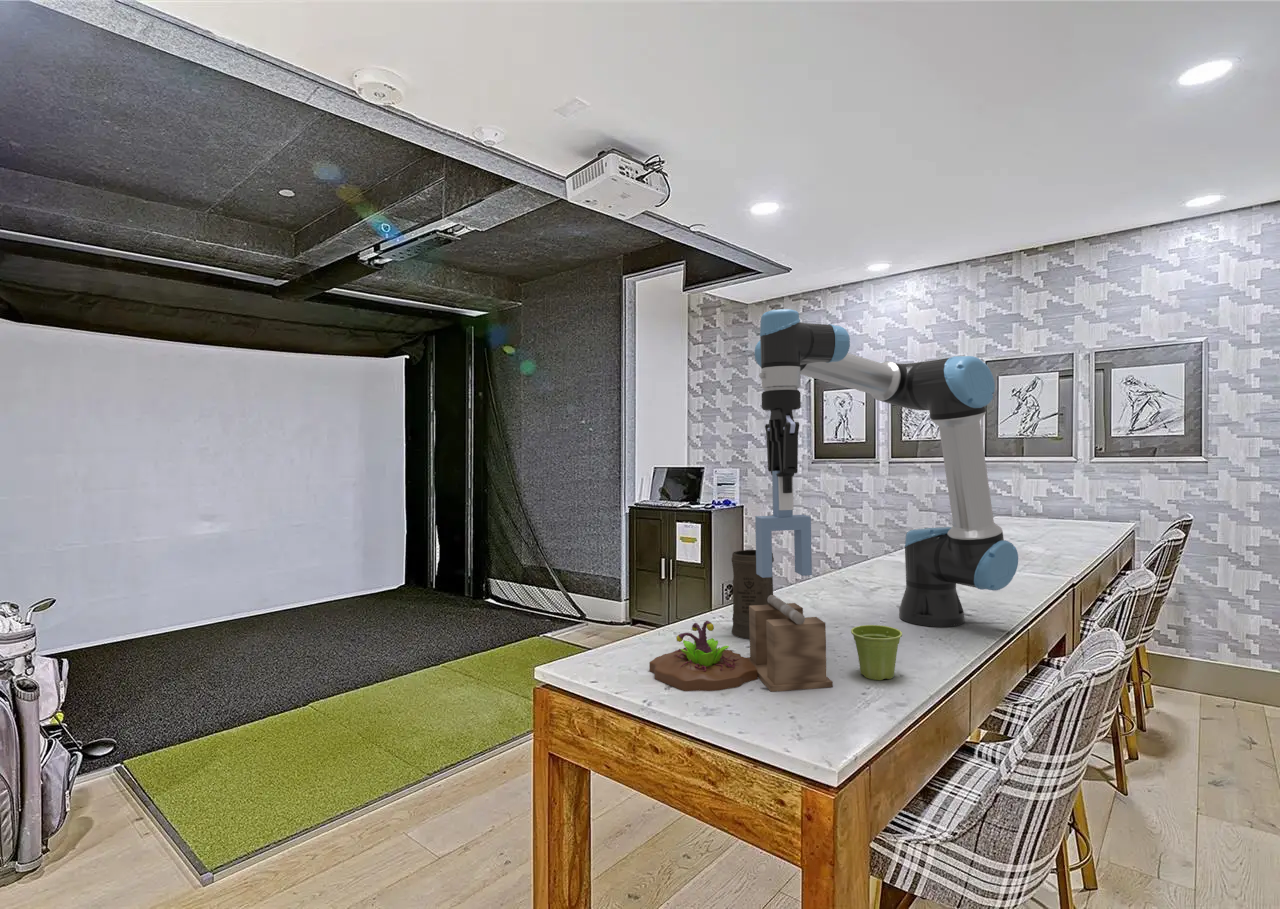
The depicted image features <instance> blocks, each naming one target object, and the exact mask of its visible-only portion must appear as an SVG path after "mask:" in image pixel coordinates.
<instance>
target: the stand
mask: <svg viewBox="0 0 1280 909" xmlns="http://www.w3.org/2000/svg"><path fill="white" fill-rule="evenodd" d="M767 601H768V603H769V605H752V606H749V632H750V639H749V656H747V657H746V658H748V659H749V661H750V662H751V663H752V664H753V665H754V666H755V667H756V669H757V672H758V679H759V680H760V681H761V683H762V684H763V685H764V686H765V687H766V688H767V689H768V690H769V692H771V693H772V692H786V691H796V690H797V691H798V690H799V691H801V690H811V689H824V688H825V689H827V688H833V687H834V683H833V682H834V681H833V680H831V678H829V677H828V676H827V644H826V643H827V636H826V635H827V634H826V633H827V632H826V631H827V630H826V622H825V621H823V620H822V619H820V618H819V617H817V616H808V617H805V616H804V608H803V607H802V606H800V605H799V604H797V603H796V602H792V603H791V602H790V603H788V602H787V603H786V602H785V601H784V600H782V599H780V598H779V597H777V596H776V595H774V594H773V595H770V596H769V597H768V599H767Z"/></svg>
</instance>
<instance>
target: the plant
mask: <svg viewBox="0 0 1280 909" xmlns="http://www.w3.org/2000/svg"><path fill="white" fill-rule="evenodd" d="M714 629H715V627H714V624H713V623H712V621H710V620H705V621H704V622H703V625H702V627H701V626H700V625H699V624H698V623H697V622H695V623H693V624H692V626H691V630H692V631H694V632H698V637H697V636H695V634H693V633H692V632H691V633H690V632H683V633H679V634H677V636H676V642H679V643H680V642H683V646H684V647H683V648H679V649H676V650H673V651H672V652H668V653H663V654H662V655H659V656H656V657H654V659H652V660H651V661H649V663H648V664H649V672H651V673H653V674H654V679H655V680H657V681H659V682H661V683H663V684H666V685H668V686H672V687H673V688H675V689H678V690H680V691H683V692H696V691H697V692H699V691H702V692H703V691H704V692H713V691H723V690H727V689H728V690H729V689H734V688H739V687H741V686H742V685H743V684H746V683H749V682H752V681H757V680H758V679H759V678H758V672H757V669H756V667H755V666H754V665H753V664H752V663H751V662H750V661H749V659H748V658H747V657H744V656H741V653H737V652H734V651H732V650H730V649H728V648H729V647H730V645H724V646H721V647H718V645H719V640H715V638H714V637H712V638H710V639H707V638H708V637H707V633H706V632H707V630H708V631H709V632H713V630H714ZM684 637H690V638H691V639H693V642H691V641H689V640H684Z"/></svg>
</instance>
